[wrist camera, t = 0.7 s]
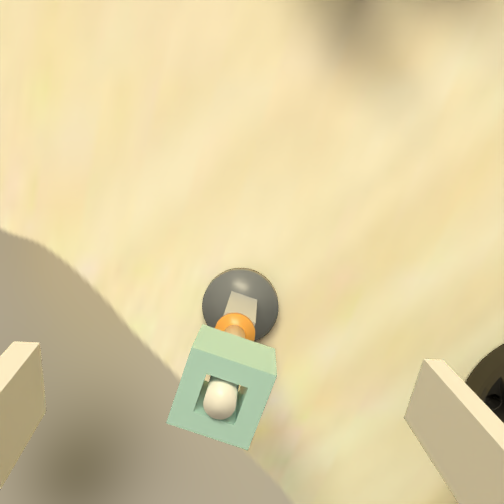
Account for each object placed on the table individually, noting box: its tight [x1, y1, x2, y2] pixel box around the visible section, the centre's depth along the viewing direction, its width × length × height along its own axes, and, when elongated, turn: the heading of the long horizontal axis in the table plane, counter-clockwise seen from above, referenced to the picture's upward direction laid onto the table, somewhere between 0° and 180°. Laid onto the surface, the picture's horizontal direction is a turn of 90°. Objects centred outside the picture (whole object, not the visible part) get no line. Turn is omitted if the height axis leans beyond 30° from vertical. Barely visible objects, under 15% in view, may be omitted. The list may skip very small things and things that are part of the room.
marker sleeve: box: [166, 324, 277, 450], centre depth 19 cm, size 4×4×3 cm
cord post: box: [202, 268, 278, 420], centre depth 25 cm, size 7×7×16 cm
